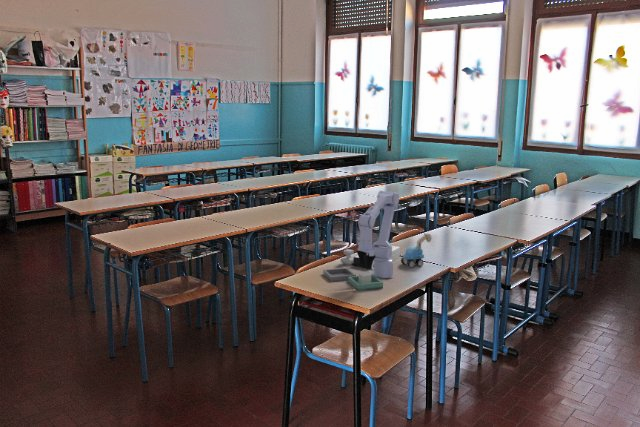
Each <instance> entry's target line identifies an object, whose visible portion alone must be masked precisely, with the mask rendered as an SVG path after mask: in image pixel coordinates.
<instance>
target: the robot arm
mask: <svg viewBox="0 0 640 427" xmlns="http://www.w3.org/2000/svg"><path fill="white" fill-rule="evenodd" d="M376 197H377V199H376V201H375V203H374V205H371V206H369V208H368V209H366V211H365V212H364V214H361V215H359V217H358V221H357V224H358V229H359V231H360V232H359V244H358V248H357V250H355V251H356V254H357V256H359V261H360V265H365V262H366V268H365V269H366V270H371V267H372V263H373V260H374V270H373V274H372V275H374V276H375V277H377V278H381V279H390V278H391V279H392V278H394V274H393V273H394V263H393V260H391V259H390V258H391V256H392V246H393V245H391V244H390V242H389V238H390V233H391V229H392V223H393V219H394V215H395V211H396V210H397V209H398V207H399V202H400V195H399V193H398V192H397V191H388V190H387V191H386V190H384V191H383V190H379V192H378V193H377V196H376ZM382 209H383V210H384V211H383V216H382V222H381V224H380V225H381V226H380V231H379V235H378V239H377V240H376V241H374V242H373V227H374V226H375V222H376V219H377V218H378V216H379V215H380V214H381V211H380V210H382ZM384 247H387V248H384Z"/></svg>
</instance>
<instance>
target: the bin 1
mask: <svg viewBox="0 0 640 427" xmlns="http://www.w3.org/2000/svg"><path fill="white" fill-rule="evenodd" d="M322 271H323V272H322V274H323V276H325V277H326V278H327V279H328V280H329V281H330V282H332V283H333V282H341V281H348V277H352V276H357V274H356V273H354V272H353V271H352V270H350V269H349V268H348V267H341V268H340V267H339V268H331V269H330V268H329V269H322Z"/></svg>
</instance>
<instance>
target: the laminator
mask: <svg viewBox="0 0 640 427" xmlns="http://www.w3.org/2000/svg"><path fill="white" fill-rule="evenodd" d="M391 246H392V256H391V258H390V259H391V260H392V261H394V260H397V259H398V258H400V255H401V247H400V246H397V245H396V246H395V245H391ZM384 248H387V247H384ZM352 265H353V266H354V267H358V268H362V269H366V262H365V265H360V261H359V256H358V255H356V256H354V264H352ZM370 271H374V260H373V263H372V267H371V269H370Z"/></svg>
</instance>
